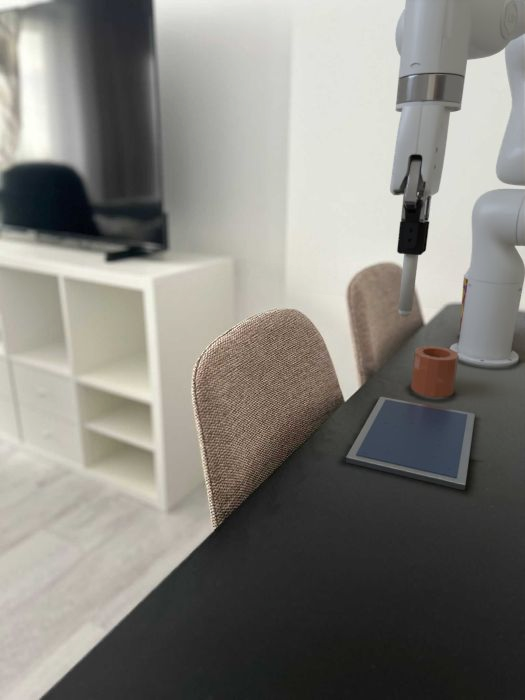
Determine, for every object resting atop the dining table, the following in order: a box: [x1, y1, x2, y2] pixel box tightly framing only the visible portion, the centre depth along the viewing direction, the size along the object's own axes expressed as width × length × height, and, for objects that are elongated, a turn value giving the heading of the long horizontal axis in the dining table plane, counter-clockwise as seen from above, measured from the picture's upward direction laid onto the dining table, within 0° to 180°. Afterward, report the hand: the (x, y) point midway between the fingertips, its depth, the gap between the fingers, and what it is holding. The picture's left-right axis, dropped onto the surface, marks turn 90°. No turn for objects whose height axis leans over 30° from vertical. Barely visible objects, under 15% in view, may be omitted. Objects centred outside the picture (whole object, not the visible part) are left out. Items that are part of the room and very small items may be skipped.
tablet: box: [345, 396, 476, 491], centre depth 70 cm, size 20×14×1 cm
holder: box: [410, 345, 459, 398], centre depth 83 cm, size 7×7×7 cm
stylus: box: [397, 254, 419, 317], centre depth 67 cm, size 2×2×14 cm
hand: (411, 251), depth 67 cm, fingers closed on stylus, 1 cm apart
